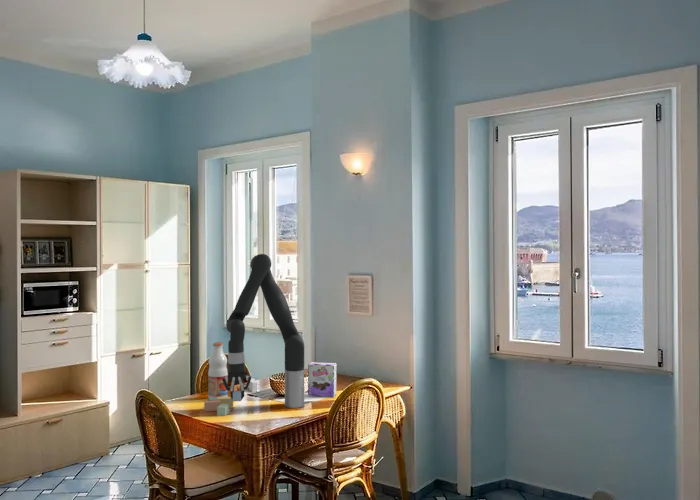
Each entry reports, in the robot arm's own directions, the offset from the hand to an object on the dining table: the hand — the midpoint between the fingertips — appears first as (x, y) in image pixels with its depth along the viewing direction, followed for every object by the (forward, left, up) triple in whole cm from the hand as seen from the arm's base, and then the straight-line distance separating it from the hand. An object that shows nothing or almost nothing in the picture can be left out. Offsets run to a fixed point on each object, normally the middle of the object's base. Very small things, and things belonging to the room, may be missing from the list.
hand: (237, 398), depth 287 cm
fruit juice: (+12, -22, -6) cm, 25 cm away
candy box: (-40, -26, -6) cm, 48 cm away
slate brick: (0, +1, -1) cm, 1 cm away
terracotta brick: (+12, -2, -5) cm, 13 cm away
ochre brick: (+7, -8, -5) cm, 12 cm away
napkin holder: (-4, -42, -6) cm, 43 cm away
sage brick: (+6, +6, -5) cm, 10 cm away
